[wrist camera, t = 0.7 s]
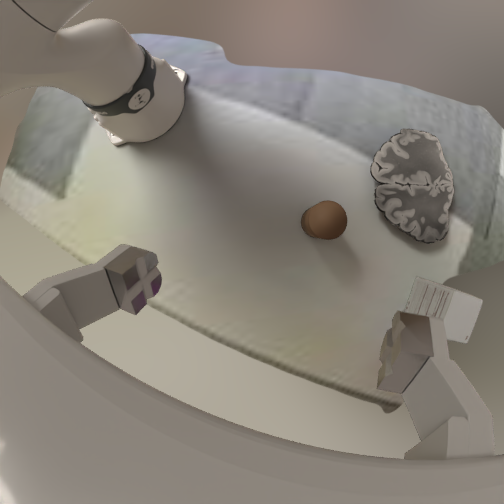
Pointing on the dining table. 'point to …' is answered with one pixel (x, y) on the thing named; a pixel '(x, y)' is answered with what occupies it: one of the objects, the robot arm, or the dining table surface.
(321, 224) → the walnut pepper mill
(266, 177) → the dining table surface
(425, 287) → the supplement box
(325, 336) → the dining table surface
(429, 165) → the brain slice
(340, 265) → the dining table surface
